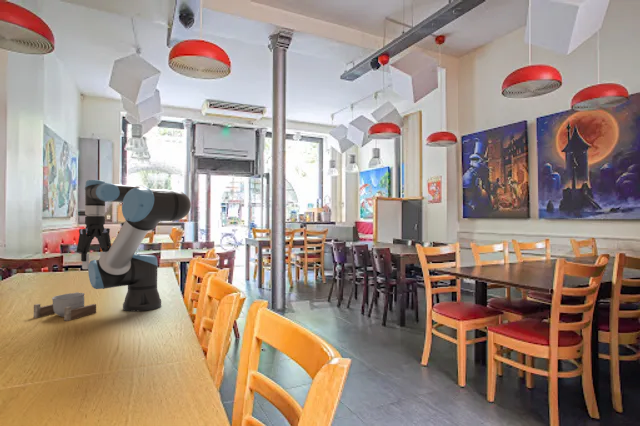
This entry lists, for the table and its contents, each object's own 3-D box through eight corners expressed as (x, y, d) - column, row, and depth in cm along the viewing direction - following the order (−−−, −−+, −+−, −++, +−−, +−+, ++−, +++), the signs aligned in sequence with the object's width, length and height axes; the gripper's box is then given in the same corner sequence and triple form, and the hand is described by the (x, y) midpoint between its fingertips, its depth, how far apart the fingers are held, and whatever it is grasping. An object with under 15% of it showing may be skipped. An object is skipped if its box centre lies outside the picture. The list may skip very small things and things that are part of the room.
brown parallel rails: (96, 312, 153) (96, 300, 153) (67, 321, 141) (67, 307, 141) (64, 309, 158) (64, 298, 158) (33, 317, 146) (33, 304, 146)
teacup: (72, 318, 145) (72, 297, 145) (44, 318, 145) (45, 297, 145) (94, 309, 159) (95, 290, 159) (69, 309, 159) (69, 290, 159)
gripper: (108, 215, 174) (107, 264, 174) (66, 215, 154) (65, 270, 153) (121, 215, 172) (120, 265, 172) (80, 215, 152) (79, 271, 151)
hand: (94, 267), depth 163 cm, fingers open, 8 cm apart
